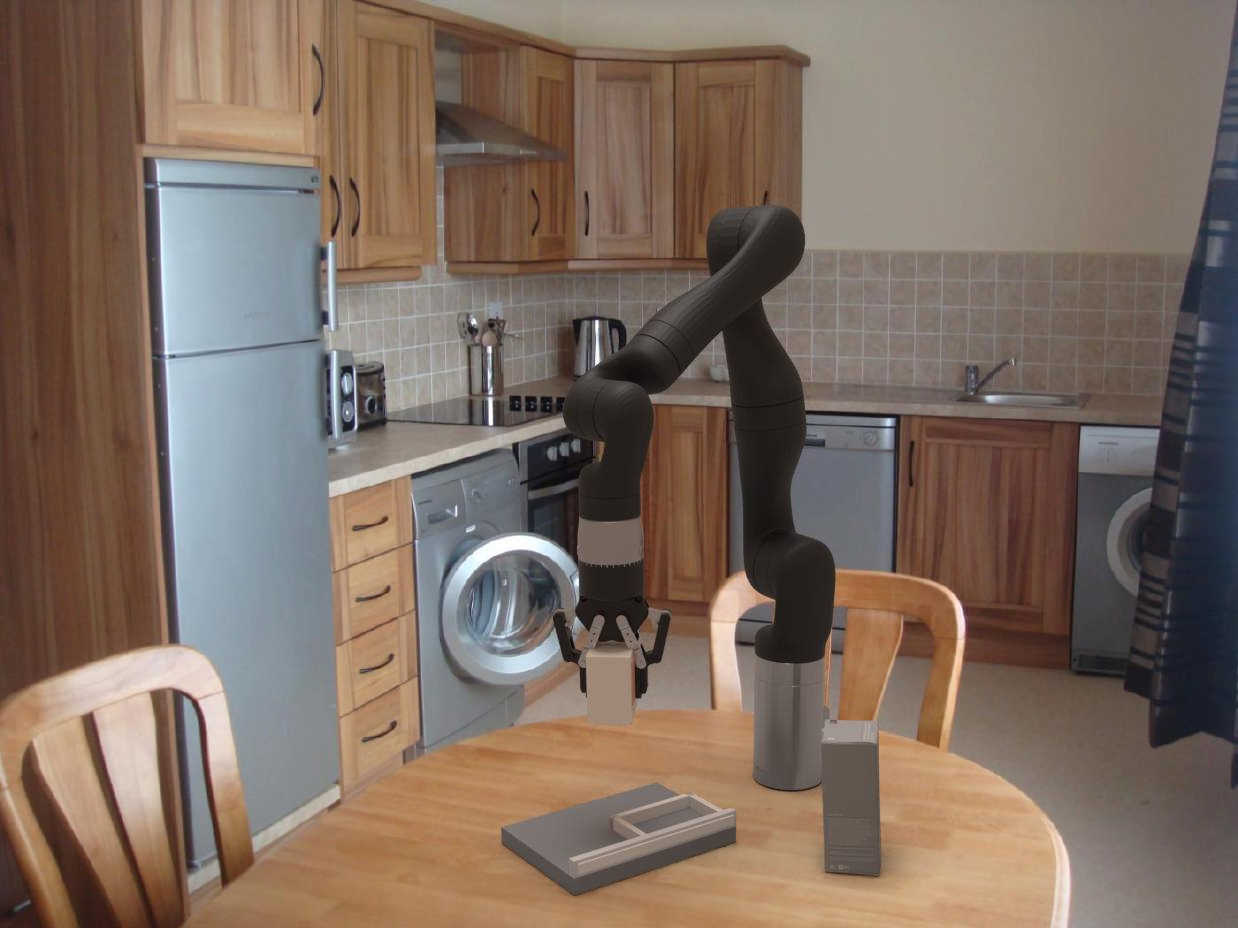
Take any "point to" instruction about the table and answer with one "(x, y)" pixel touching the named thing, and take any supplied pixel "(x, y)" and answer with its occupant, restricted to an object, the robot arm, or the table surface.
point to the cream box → (610, 684)
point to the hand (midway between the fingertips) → (614, 695)
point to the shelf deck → (620, 836)
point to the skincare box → (851, 796)
